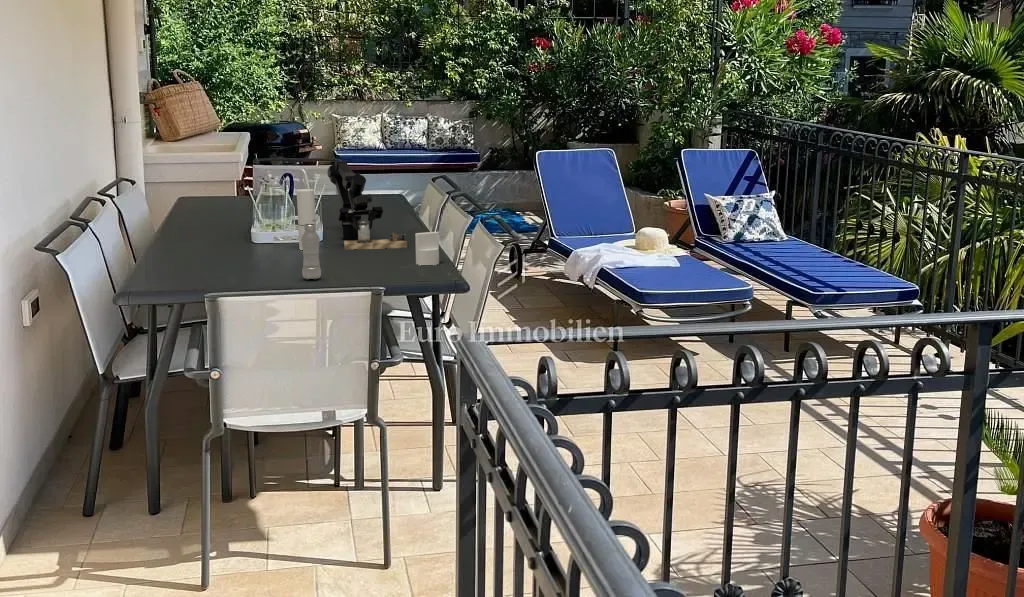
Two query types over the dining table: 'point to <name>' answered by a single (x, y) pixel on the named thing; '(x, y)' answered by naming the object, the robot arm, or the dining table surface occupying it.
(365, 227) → the grey metallic cylinder
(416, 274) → the dining table surface
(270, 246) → the dining table surface
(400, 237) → the lock pin
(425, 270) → the dining table surface
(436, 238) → the base with upright slab
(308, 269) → the plastic bottle
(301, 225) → the cylindrical container
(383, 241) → the dock
